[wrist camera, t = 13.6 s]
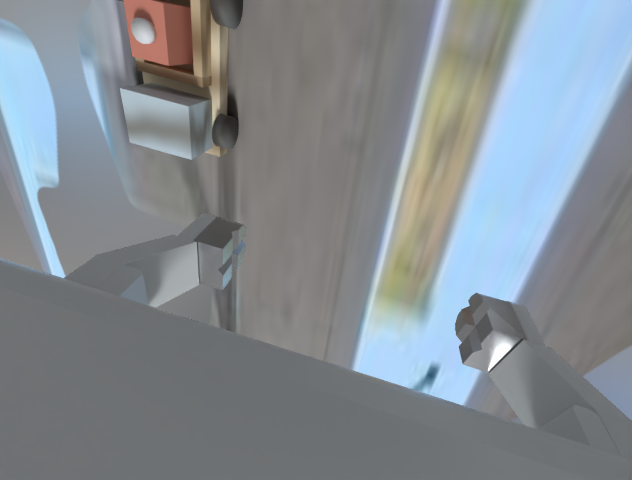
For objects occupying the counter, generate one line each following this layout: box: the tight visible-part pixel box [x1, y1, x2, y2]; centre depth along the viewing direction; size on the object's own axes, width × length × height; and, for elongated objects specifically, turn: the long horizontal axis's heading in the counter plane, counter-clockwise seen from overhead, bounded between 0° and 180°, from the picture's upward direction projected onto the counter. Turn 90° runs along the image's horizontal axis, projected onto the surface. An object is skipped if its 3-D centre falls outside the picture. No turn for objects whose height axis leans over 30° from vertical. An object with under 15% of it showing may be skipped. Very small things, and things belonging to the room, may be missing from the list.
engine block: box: [124, 0, 193, 66], centre depth 30 cm, size 5×4×6 cm
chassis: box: [120, 0, 243, 160], centre depth 33 cm, size 20×13×7 cm, turn 169°
